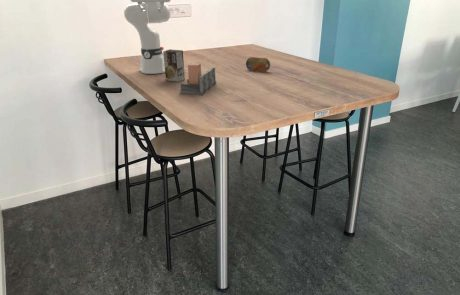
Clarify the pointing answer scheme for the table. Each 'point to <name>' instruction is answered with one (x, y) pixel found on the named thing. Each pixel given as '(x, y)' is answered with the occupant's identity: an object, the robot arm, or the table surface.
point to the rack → (205, 84)
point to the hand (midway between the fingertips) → (151, 12)
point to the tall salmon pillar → (194, 73)
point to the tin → (257, 64)
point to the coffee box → (174, 65)
